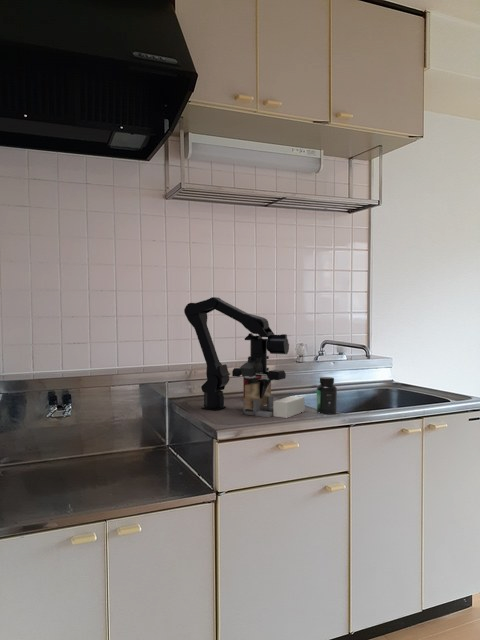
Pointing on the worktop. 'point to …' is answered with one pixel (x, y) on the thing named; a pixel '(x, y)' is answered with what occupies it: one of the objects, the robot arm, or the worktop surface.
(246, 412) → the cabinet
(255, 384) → the door panel
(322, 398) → the supplement bottle
